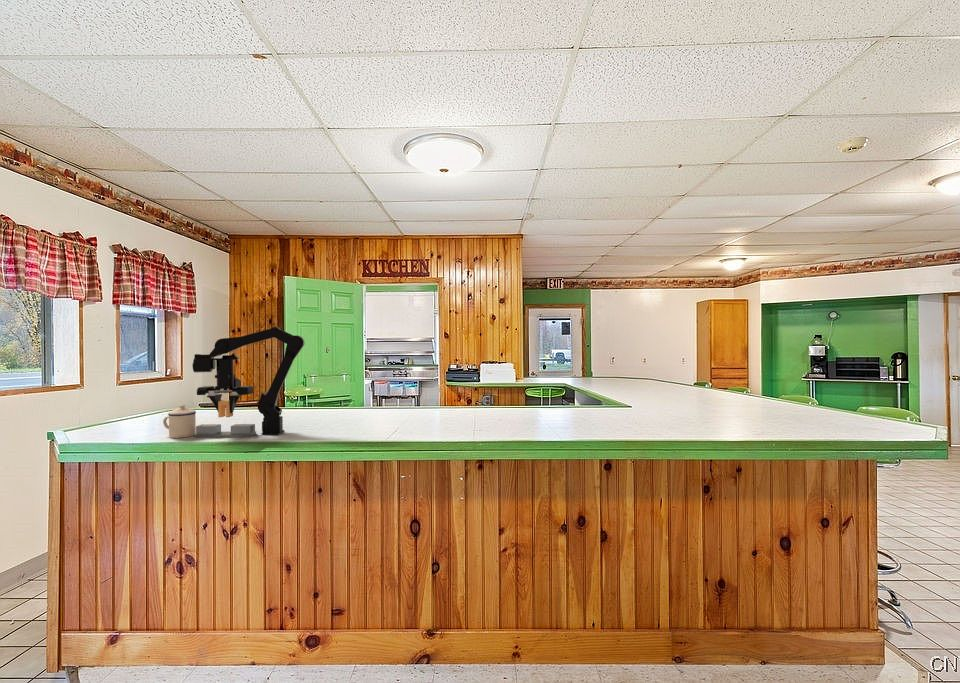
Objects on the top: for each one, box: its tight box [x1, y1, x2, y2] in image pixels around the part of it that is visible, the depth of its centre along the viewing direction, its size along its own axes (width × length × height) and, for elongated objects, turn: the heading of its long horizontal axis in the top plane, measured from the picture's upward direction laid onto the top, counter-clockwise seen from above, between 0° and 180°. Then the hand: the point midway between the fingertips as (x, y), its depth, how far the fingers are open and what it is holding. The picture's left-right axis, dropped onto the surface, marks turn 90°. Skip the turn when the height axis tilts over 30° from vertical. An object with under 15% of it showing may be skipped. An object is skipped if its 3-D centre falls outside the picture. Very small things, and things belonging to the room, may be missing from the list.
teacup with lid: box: [162, 404, 197, 439], centre depth 188 cm, size 12×9×12 cm
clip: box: [217, 399, 234, 418], centre depth 187 cm, size 4×3×6 cm
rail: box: [194, 423, 257, 439], centre depth 188 cm, size 20×6×4 cm, turn 91°
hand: (225, 413), depth 187 cm, fingers closed on clip, 4 cm apart
